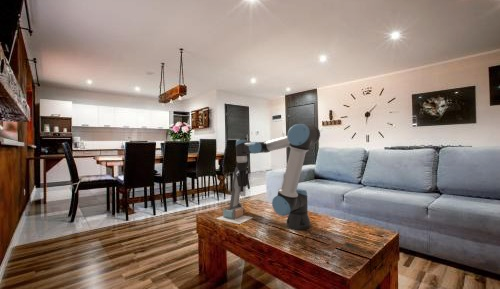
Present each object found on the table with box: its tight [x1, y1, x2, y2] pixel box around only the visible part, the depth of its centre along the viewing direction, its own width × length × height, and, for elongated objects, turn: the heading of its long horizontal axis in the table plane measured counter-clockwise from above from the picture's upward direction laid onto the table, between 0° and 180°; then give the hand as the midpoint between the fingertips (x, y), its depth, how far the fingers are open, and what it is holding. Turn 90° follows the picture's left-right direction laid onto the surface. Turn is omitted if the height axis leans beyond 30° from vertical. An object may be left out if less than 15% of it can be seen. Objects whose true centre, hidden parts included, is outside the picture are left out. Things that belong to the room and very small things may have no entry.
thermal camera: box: [227, 167, 245, 212], centre depth 186 cm, size 12×13×35 cm
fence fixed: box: [222, 207, 235, 219], centre depth 167 cm, size 11×2×7 cm, turn 54°
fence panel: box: [235, 206, 244, 218], centre depth 169 cm, size 8×1×6 cm, turn 144°
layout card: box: [216, 214, 254, 225], centre depth 166 cm, size 21×16×1 cm
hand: (243, 195), depth 163 cm, fingers closed
